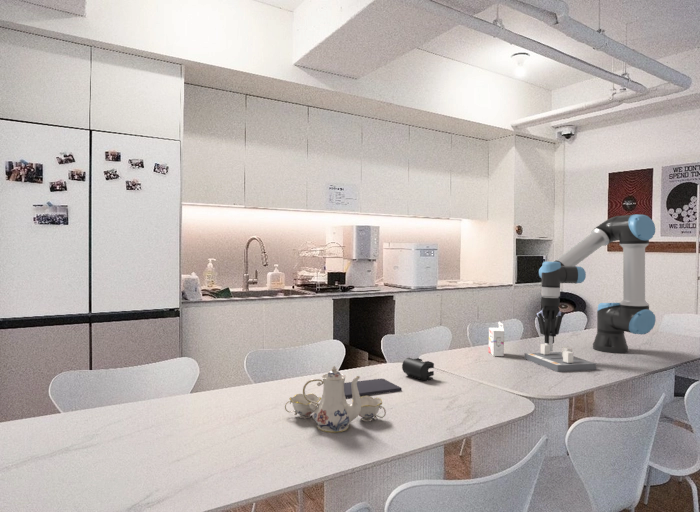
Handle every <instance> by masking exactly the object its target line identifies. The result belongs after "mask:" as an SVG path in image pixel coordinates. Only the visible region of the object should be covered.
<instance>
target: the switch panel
mask: <svg viewBox="0 0 700 512" xmlns="http://www.w3.org/2000/svg"><path fill="white" fill-rule="evenodd" d="M523 355H524V357H523V359H524V358H525V359H524V360H526V359H527V360H526V361H528V360H529V361H528V362H531V361H532V362H531V363H533V362H534V363H533V364H536V363H537V364H536V365H540V366H541V365H542V366H541V367H544V368H546V367H547V369H549V370H552V371H555V372H557V373H560V372H561V373H563V372H564V373H565V372H581V371H583V372H584V371H596V370H597V363H595V362H592V361H589V360H586V359H583V358H580V357H578V356H575V355H574V356H573V363H567V362H564V361H563V357H562V351H551V352H550V354H547V355H544V354H542V353H540V352H525V353H524V354H523Z"/></svg>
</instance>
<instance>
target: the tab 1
mask: <svg viewBox="0 0 700 512" xmlns="http://www.w3.org/2000/svg"><path fill="white" fill-rule="evenodd" d="M539 351H540V352H539V353H542V354H544V355H547V354H550V345H548V344H546V343H540V350H539Z"/></svg>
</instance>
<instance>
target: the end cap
mask: <svg viewBox="0 0 700 512" xmlns="http://www.w3.org/2000/svg"><path fill="white" fill-rule="evenodd" d="M434 368H435V363H434V362H432V361H430V360H427V361H423V359H422V358H419V357H417V358H416V357H415V358H411V357H406V358H405V359H404V360H403V361H402V365H401V369H402V372H403V373H404V374H405V375H407V376H409V377H410V378H411V377H412V378H415V379H418V380H421V381H424V382H428V381H432V380H431V379H433V380H434V377H433V376H434V375H435V373H434V372H435V371H434V370H432V371H429V370H430V369H434ZM427 380H428V381H427Z"/></svg>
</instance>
